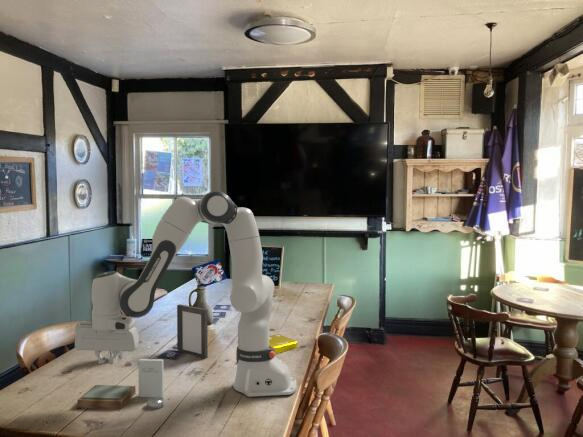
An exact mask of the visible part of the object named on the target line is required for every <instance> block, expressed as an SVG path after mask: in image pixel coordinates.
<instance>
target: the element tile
mask: <svg viewBox="0 0 583 437" xmlns="http://www.w3.org/2000/svg"><path fill="white" fill-rule="evenodd" d="M269 346H271V347H272V348H273V346H274V349H275V355H277V354H281V353H284V352H288V351H292V350H295V349H297V348H298V341H297V340H295V339H293V338H291V337H288V336H285V335H282V334H280V333H279V334H273V335H269Z"/></svg>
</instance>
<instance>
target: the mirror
mask: <svg viewBox="0 0 583 437" xmlns="http://www.w3.org/2000/svg"><path fill="white" fill-rule="evenodd" d="M135 395H136V385H134V386H133V385H111V384H110V385H109V384H106V385H105V384H95V385H94V386H92V387H90V389H89V390H87V391H86V393H84V394H83V395H82V396H80V398H78V399H77V408H78V409H106V410H107V409H109V410H122V409H123V408H124V406H126V404H127V403H128V402H129V401H130V400H131V399H132V398H133V397H134V396H135Z"/></svg>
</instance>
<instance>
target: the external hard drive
mask: <svg viewBox="0 0 583 437" xmlns="http://www.w3.org/2000/svg"><path fill="white" fill-rule="evenodd" d="M164 363H165V362H164V359H161V358H159V359H158V358H157V359H154V358H140V359H138V397H139V398H154V397H160V398H164V396H165V394H164V384H165V383H164V378H165V376H164V372H165V371H164Z"/></svg>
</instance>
